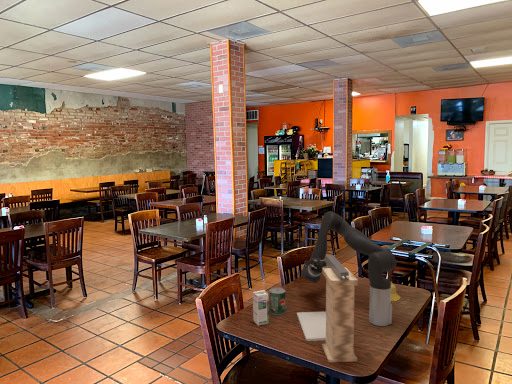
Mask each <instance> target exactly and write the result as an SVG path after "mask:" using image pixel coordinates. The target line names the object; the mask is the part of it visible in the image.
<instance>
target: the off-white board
mask: <svg viewBox="0 0 512 384" xmlns="http://www.w3.org/2000/svg"><path fill="white" fill-rule="evenodd" d="M296 316H297V319H298V322H299V324H300V327H301V329H302V332H303V335H304V338H305V341H306V342H317V341H326V311H307V312H306V311H305V312H304V311H301V312H298V311H297V312H296Z"/></svg>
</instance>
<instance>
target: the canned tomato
mask: <svg viewBox="0 0 512 384" xmlns="http://www.w3.org/2000/svg"><path fill="white" fill-rule="evenodd" d="M286 312H287V311H286V289H285V288H283V287H272V288H270V289H269V314H272V315H275V316H281V315H284V314H286Z"/></svg>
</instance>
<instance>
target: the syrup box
mask: <svg viewBox="0 0 512 384" xmlns="http://www.w3.org/2000/svg"><path fill="white" fill-rule="evenodd" d="M252 312H253V317H252V318H253V322H254V323H255V325H256V326H261V325H268V324H270V295H269V293H268V291H266V290H265V289H263V290H257V291H252Z"/></svg>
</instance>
